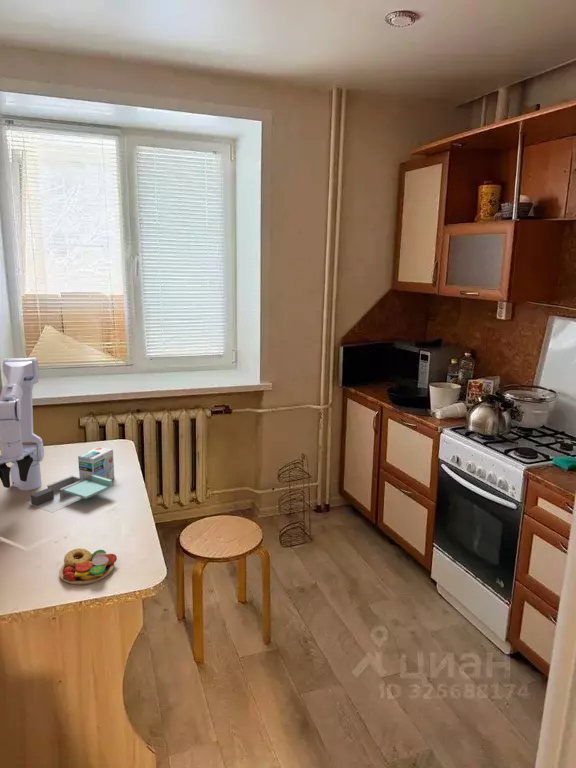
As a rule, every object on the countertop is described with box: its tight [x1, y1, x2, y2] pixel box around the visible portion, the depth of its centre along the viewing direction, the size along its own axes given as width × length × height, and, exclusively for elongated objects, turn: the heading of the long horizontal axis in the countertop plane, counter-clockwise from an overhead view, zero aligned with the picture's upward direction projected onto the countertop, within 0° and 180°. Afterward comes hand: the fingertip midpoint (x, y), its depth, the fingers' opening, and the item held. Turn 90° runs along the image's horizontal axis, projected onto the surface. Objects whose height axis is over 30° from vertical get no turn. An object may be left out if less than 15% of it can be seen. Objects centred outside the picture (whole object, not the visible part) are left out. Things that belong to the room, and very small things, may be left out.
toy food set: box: [58, 548, 118, 586], centre depth 135 cm, size 13×13×3 cm
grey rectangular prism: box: [30, 487, 54, 506], centre depth 170 cm, size 3×6×3 cm, turn 151°
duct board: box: [24, 475, 85, 513], centre depth 174 cm, size 13×18×4 cm
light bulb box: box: [77, 446, 115, 480], centre depth 187 cm, size 11×7×11 cm, turn 160°
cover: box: [64, 474, 114, 500], centre depth 172 cm, size 11×10×2 cm
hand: (15, 483), depth 161 cm, fingers open, 5 cm apart
